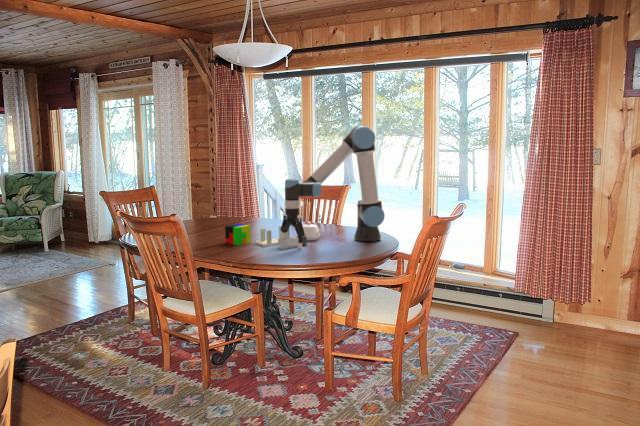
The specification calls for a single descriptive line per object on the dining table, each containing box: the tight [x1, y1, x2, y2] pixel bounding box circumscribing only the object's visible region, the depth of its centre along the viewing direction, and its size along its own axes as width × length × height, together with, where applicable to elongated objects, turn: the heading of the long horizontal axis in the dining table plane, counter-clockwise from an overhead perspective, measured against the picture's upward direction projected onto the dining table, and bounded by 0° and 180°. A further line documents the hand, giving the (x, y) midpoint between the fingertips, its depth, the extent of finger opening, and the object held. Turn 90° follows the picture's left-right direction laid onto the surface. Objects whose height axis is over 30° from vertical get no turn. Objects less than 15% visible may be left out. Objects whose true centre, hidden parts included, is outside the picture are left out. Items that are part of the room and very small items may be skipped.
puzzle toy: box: [224, 223, 252, 247], centre depth 293 cm, size 10×10×10 cm
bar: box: [277, 235, 308, 250], centre depth 283 cm, size 4×16×5 cm, turn 125°
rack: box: [254, 225, 291, 248], centre depth 293 cm, size 10×20×8 cm, turn 126°
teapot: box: [299, 221, 323, 241], centre depth 302 cm, size 20×12×10 cm, turn 45°
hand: (292, 246), depth 283 cm, fingers open, 13 cm apart
